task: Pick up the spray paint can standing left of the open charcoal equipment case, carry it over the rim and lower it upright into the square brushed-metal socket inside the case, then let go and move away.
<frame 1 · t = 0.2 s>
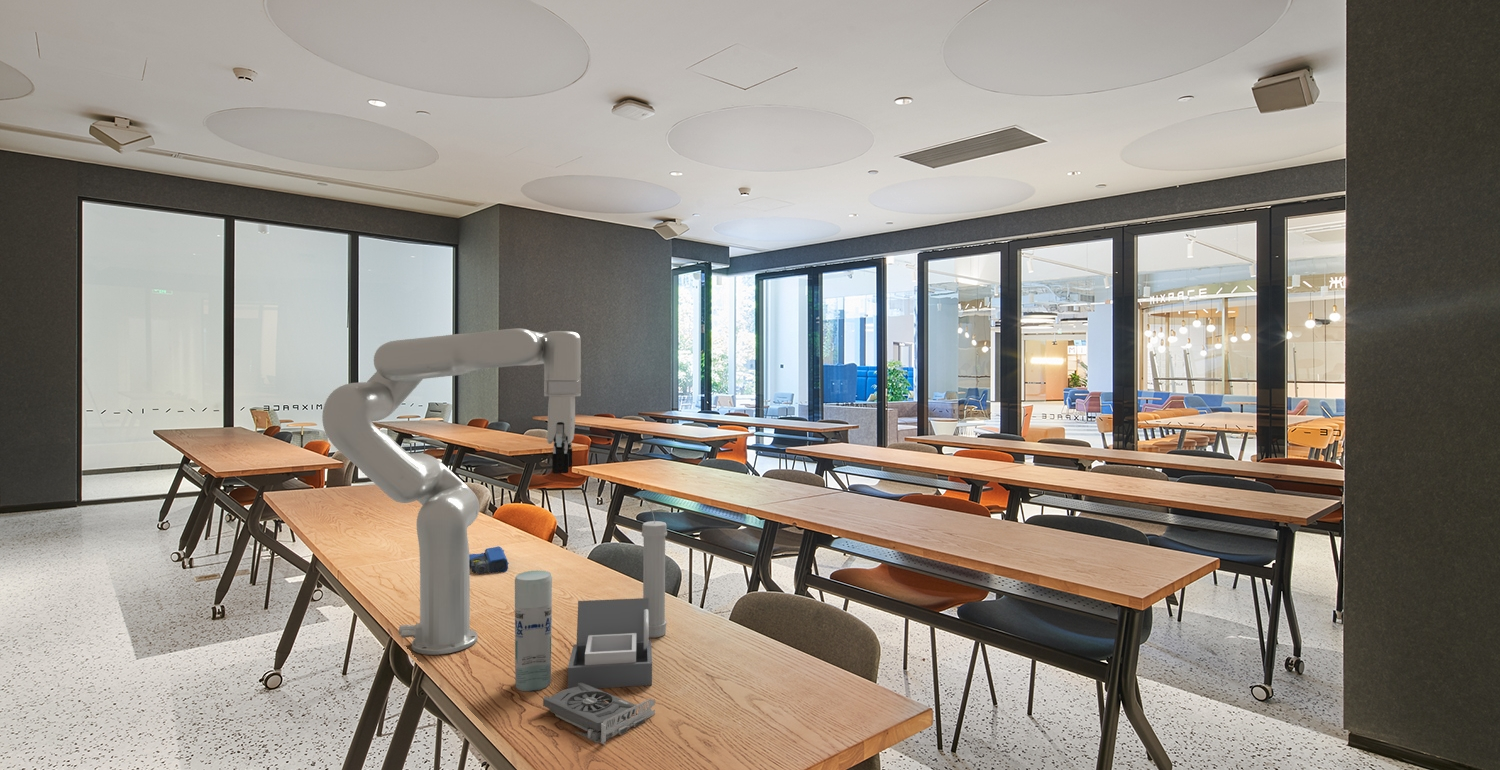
hand: (562, 469, 150), 36 cm above the table, tool pointing down, fingers open, 9 cm apart
spray paint can: (533, 684, 129), on the table
pipe: (652, 634, 154), on the table
graphics card: (597, 718, 118), on the table
case: (611, 674, 133), on the table
stun gun: (479, 569, 205), on the table
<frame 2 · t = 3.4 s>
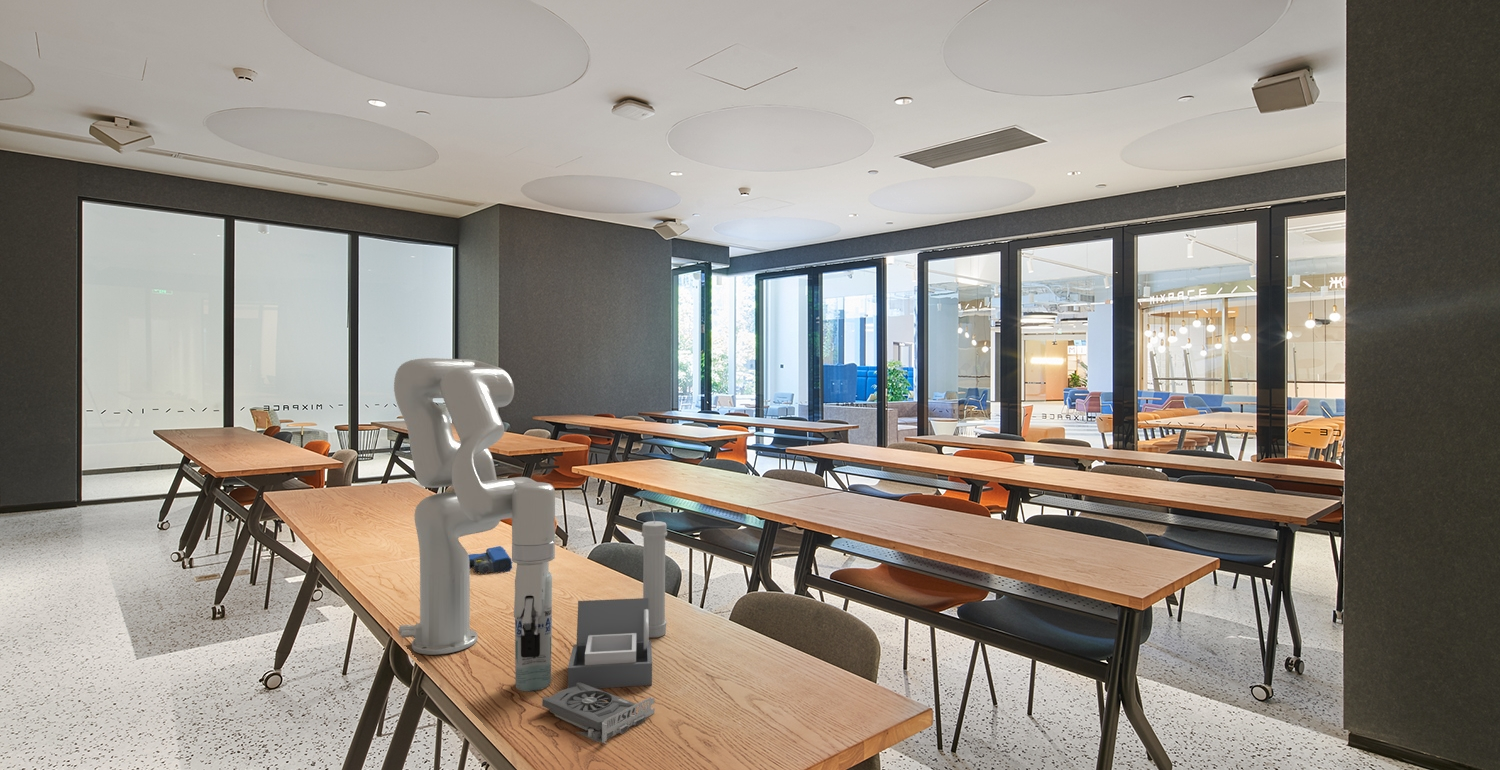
hand: (533, 647, 129), 7 cm above the table, tool pointing down, fingers closed on spray paint can, 6 cm apart
spray paint can: (533, 684, 129), on the table, touching gripper
when the fingers open (9 cm above the table, at t = 9.8 s): spray paint can drops 1 cm, resting on case.
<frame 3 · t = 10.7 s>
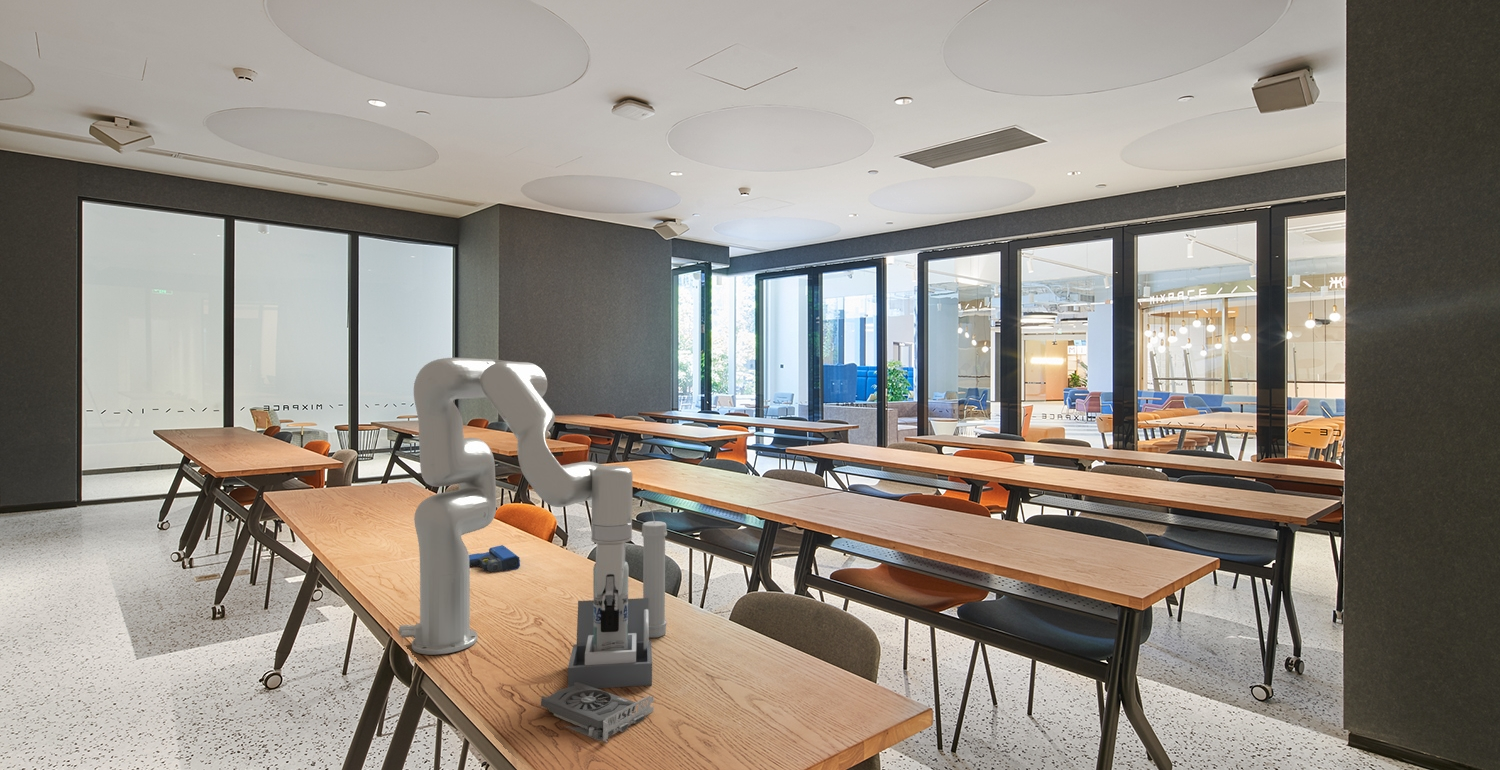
hand: (610, 621, 133), 10 cm above the table, tool pointing down, fingers open, 9 cm apart
spray paint can: (610, 670, 133), point 1 cm above the table, touching case
stun gun: (487, 568, 206), on the table
everything else where it was.
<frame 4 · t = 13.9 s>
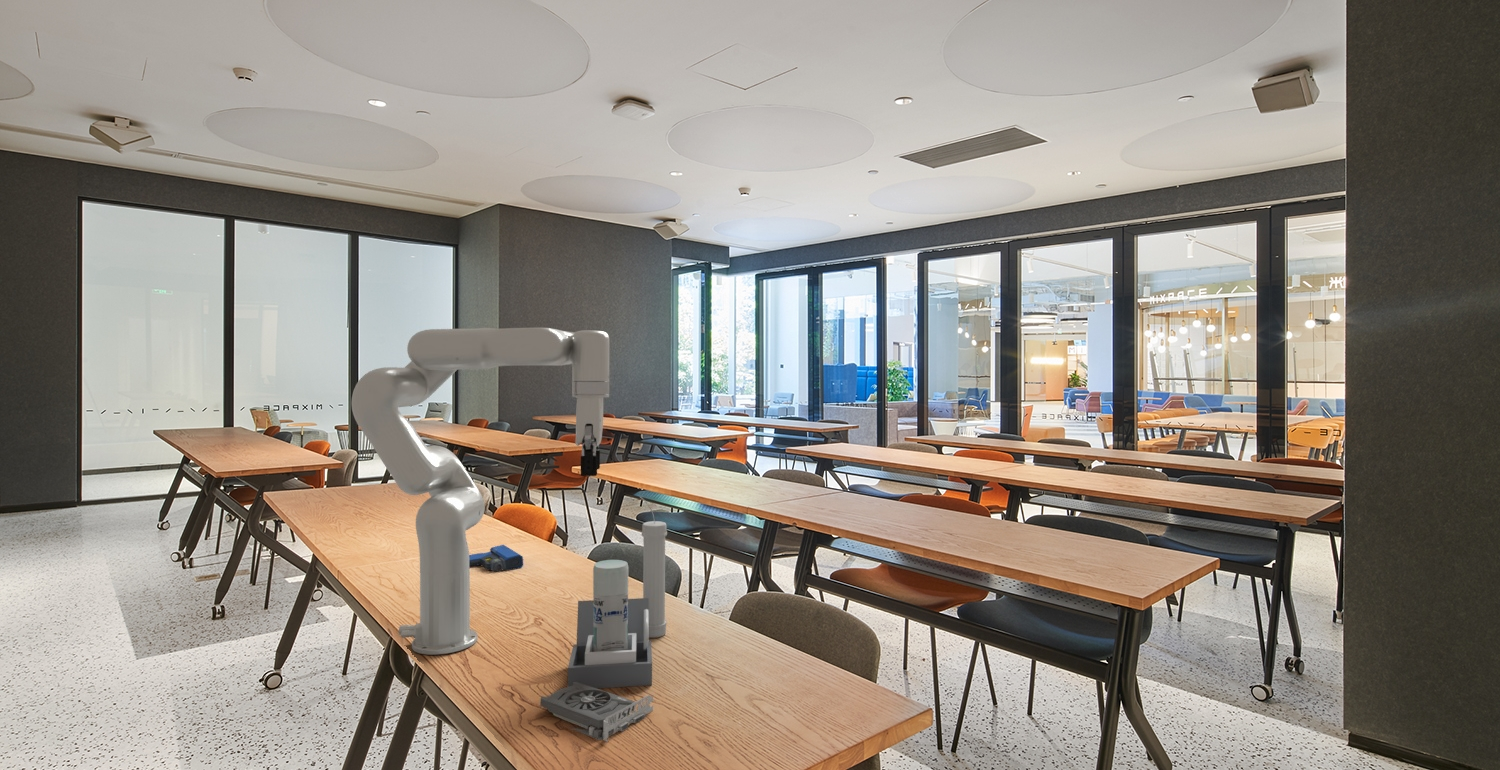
hand: (590, 472, 147), 36 cm above the table, tool pointing down, fingers open, 9 cm apart
at the end: spray paint can 0.2 cm from the case (horizontally); spray paint can tilted 0°; spray paint can point 0.8 cm above the table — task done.
